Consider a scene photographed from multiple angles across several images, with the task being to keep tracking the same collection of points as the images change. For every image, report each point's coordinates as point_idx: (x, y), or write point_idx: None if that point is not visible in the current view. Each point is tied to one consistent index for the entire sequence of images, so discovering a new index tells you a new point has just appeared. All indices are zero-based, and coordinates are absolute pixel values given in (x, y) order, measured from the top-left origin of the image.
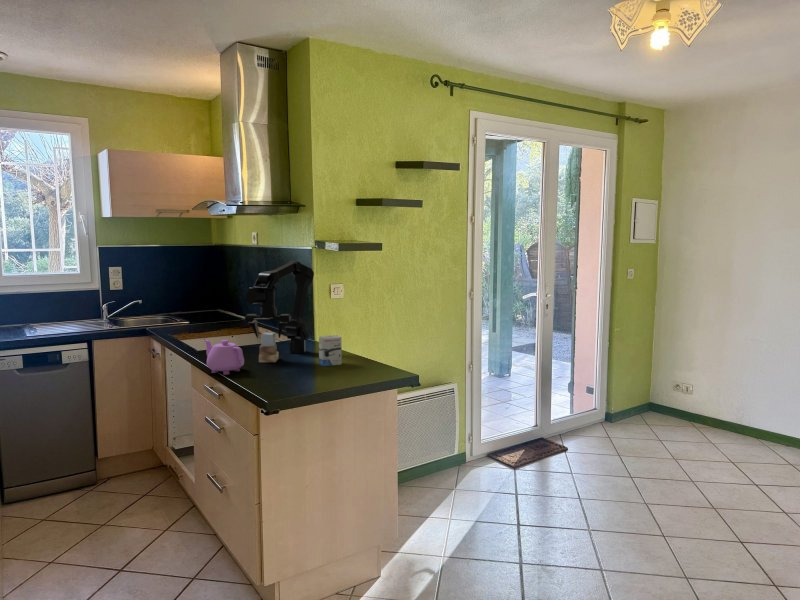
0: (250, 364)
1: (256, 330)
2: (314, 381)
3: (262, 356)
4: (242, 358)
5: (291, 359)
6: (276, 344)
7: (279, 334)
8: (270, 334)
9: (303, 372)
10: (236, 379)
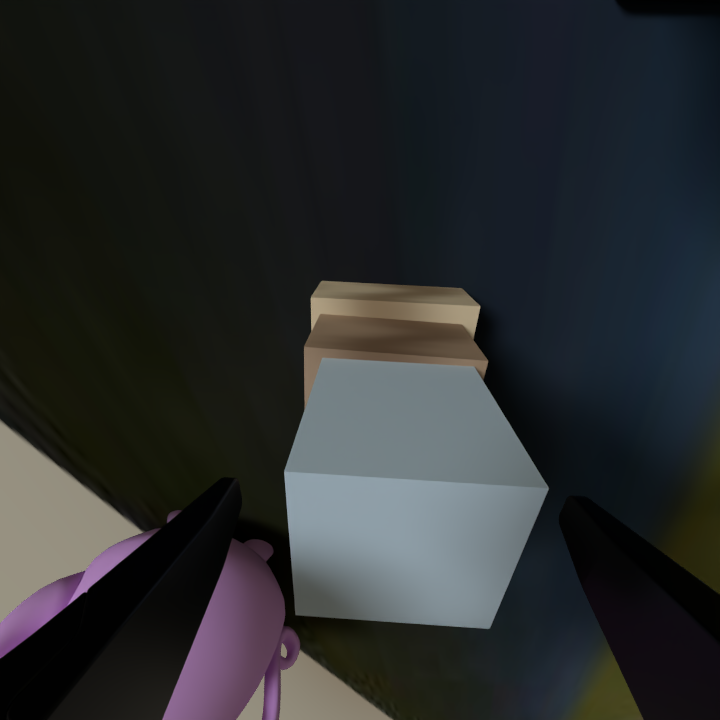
0: (283, 448)
1: (172, 685)
2: (591, 675)
3: None
4: (275, 646)
5: (569, 326)
6: (486, 359)
7: (606, 600)
8: (448, 608)
9: (578, 594)
10: (304, 640)
